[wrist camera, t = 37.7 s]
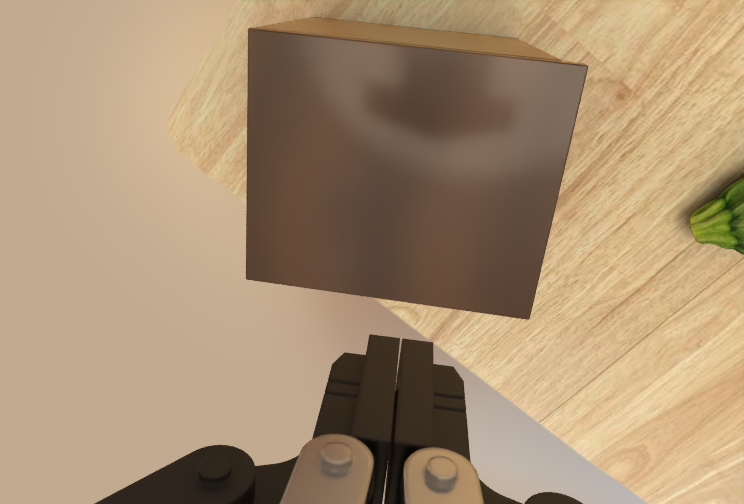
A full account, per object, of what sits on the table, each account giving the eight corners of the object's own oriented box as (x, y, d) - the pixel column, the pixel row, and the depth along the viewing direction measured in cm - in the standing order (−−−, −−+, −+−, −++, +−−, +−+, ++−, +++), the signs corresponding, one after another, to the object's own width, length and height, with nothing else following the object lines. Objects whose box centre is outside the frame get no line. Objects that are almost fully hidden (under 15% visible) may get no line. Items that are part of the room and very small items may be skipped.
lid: (584, 63, 25) (589, 65, 24) (527, 312, 30) (529, 320, 29) (253, 27, 26) (247, 28, 25) (250, 273, 31) (245, 279, 30)
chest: (518, 38, 39) (563, 60, 25) (486, 212, 43) (510, 305, 30) (312, 17, 39) (253, 27, 26) (304, 190, 44) (250, 272, 31)
